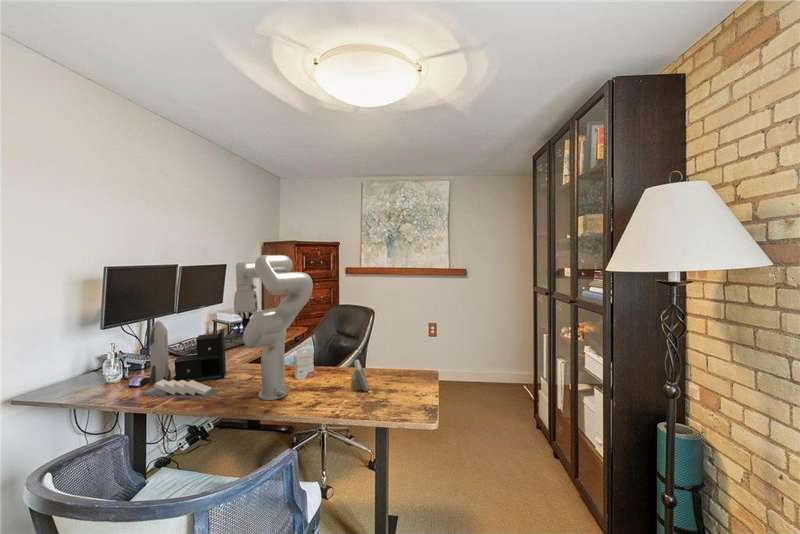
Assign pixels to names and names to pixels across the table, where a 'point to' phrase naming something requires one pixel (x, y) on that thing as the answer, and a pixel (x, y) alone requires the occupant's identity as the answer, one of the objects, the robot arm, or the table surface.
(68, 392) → the table surface
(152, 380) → the rocket model
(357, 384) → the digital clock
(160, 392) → the domino
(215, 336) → the black desk organizer
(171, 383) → the domino
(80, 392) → the table surface
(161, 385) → the domino
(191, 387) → the domino
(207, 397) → the mat
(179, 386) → the domino
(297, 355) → the ink cartridge box
